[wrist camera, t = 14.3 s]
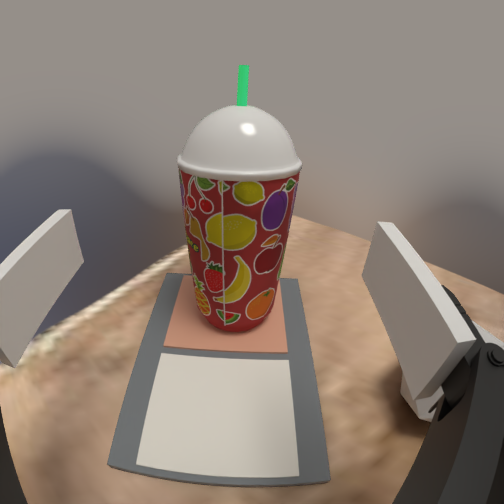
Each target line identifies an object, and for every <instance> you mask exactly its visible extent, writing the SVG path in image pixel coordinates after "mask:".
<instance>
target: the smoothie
mask: <svg viewBox="0 0 504 504" xmlns="http://www.w3.org/2000/svg"><path fill="white" fill-rule="evenodd" d="M248 74H249V66H248V65H239V73H238V92H237V105H231V106H227V107H224V108H221V109H219V110H217V111H214V112H213V113H211V114H209V115H207V116H206V117H205V118H203V119H202V120H201V121H200V122H199V123H198V124H197V125H196V126H195V127H194V129H193V130H192V132H191V133H190V135H189V137H188V139H187V141H186V144H185V146H184V149H183V152H182V153H181V154H180V155H179V156H178V157H177V165H178V168H179V179H180V188H181V196H182V206H183V214H184V222H185V230H186V237H187V245H188V252H189V259H190V265H191V272H192V278H193V284H194V291H195V297H196V302H197V307H198V309H199V310H200V312H201V313H202V314H203V316H205V318H206V319H207V320H208V322H209V323H210V324H212V325H213V326H215V327H216V328H218V329H221V330H224V331H229V332H241V331H247V330H250V329H252V328H254V327H256V326H258V325H259V324H260V323H261V322H262V321H263V320H264V318H265V317H266V316H267V315H268V314H269V313H270V312H271V310H272V308H273V305H274V301H275V296H276V292H277V287H278V282H279V278H280V273H281V268H282V263H283V258H284V253H285V248H286V243H287V238H288V233H289V228H290V223H291V218H292V213H293V208H294V202H295V197H296V191H297V186H298V181H299V173H300V170H301V169H302V162H301V160H300V158H298V157H297V155H296V151H295V148H294V145H293V142H292V140H291V137H290V136H289V134H288V132H287V131H286V129H285V128H284V126H283V125H282V124H281V123H280V121H278V120H277V119H276V118H275V117H273V116H272V115H271V114H269V113H267V112H266V111H263V110H261V109H259V108H256V107H253V106H248V105H247V92H248Z"/></svg>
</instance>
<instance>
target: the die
mask: <svg viewBox="0 0 504 504" xmlns="http://www.w3.org/2000/svg"><path fill="white" fill-rule="evenodd" d="M472 322H473V321H472ZM473 324H474V325H475V327H476V328H477V330H478V332H479V333H480V335H481V336H482V338H483V340H484V341H485V343H494V344H497V345H498V346H500V347H501V348H503V350H504V343H503V342H502V341H500V340H499V339H498V338H496V337H495V336H493V335H492V334H491V333H489V332H488V331H486V330H485V329H484V328H482V327H481V326H479V325H478V324H476V323H475V322H473ZM400 393H401V395H402V396H403V397H404V399H405V400H406V401H407V403H408V404H409V405H410V407H411V408H412V409H413V411H414V412H415V413H416V415H417V416H418V417H419V419H422V420H425V421H429V422H431V421H432V419H433V416H434V413H435V410H436V408H435V409H434V410H433V411H432V412H431V413H428V411H429V409H430V408H431V407H432V406H433V405H434V404H435V403H436V401H437V400H438V399H439V398H440V397H441V396H442V395H443V394H444V392H443V390H442V387H441V386H440V387H439V389H438V390H437V391H436V392H435V393H434V394H433V396H432V397H428V398H423V399H419V400H414V401H413V399H412V396H411V393H410V390H409V387H408V385H407V382H406V379H405V376H404V374H402V383H401V391H400Z"/></svg>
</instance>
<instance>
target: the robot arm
mask: <svg viewBox="0 0 504 504" xmlns="http://www.w3.org/2000/svg"><path fill="white" fill-rule="evenodd" d="M83 262H84V261H83V257H82V253H81V250H80V246H79V242H78V238H77V234H76V230H75V225H74V221H73V217H72V212H71V210H58V211H57V212H55V213H54V214H53V215H52V216H51V217H49V218H48V220H46V221H45V222H44V223H43V224H42V225H40V226H39V227H38V228H37V229H36V230H35V231H34V232H33V233H32V234H31V235H30V236H29V237H28V238H26V239H25V240H24V241H23V242H22V243H21V244H20V245H19V246H18V247H17V248H16V249H15V250H14V251H13V252H12V253H11V254H10V255H9V256H8V257H7V258H6V259H5V260H4V261H3V262H2V263H1V264H0V360H1V362H2V363H4V364H6V365H8V366H11V367H13V368H15V367H16V366H17V364H18V362H19V360H20V358H21V356H22V355H23V353H24V351H25V349H26V348H27V346H28V344H29V342H30V341H31V339H32V337H33V336H34V334H35V332H36V331H37V329H38V328H39V326H40V324H41V323H42V321H43V319H44V318H45V316H46V315H47V313H48V312H49V310H50V309H51V307H52V306H53V304H54V303H55V301H56V299H57V298H58V297H59V295H60V294H61V292H62V291H63V290H64V288H65V287H66V285H67V284H68V283H69V281H70V280H71V278H72V277H73V275H74V274H75V273H76V272H77V270H78V269H79V267H80V266H81V265H82V263H83ZM362 277H363V280H364V282H365V284H366V286H367V288H368V290H369V292H370V295H371V297H372V299H373V301H374V303H375V306H376V308H377V310H378V312H379V315H380V317H381V319H382V322H383V324H384V326H385V329H386V331H387V333H388V336H389V338H390V341H391V343H392V345H393V348H394V350H395V353H396V356H397V358H398V361H399V363H400V366H401V368H402V371H403V374H404V376H405V379H406V382H407V385H408V387H409V390H410V393H411V396H412V399H413V401H414V400H419V399H423V398H428V397H432V396H433V394H434V393H435V392H436V391H437V390H438V389H439V387H440V386H441V387H442V390H443V392H444V394H443V395H442V396H441V397H440V398H439V399H438V400H437V401H436V403H435V404H434V405H433V406H432V407H431V408H430V409H429V411H428V413H431V412H432V411H433V410H434V409H435V408H436V410H435V413H434V416H433V419H432V421H431V424H430V427H429V429H428V432H427V434H426V437H425V439H424V441H423V444H422V446H421V448H420V451H419V453H418V455H417V457H416V459H415V462H414V464H413V466H412V468H411V470H410V472H409V474H408V476H407V478H406V480H405V482H404V483H403V485H402V487H401V489H400V491H399V493H398V494H397V496H396V498H395V500H394V501H393V503H392V504H504V350H503V348H501V347H500V346H498V345H497V344H494V343H485V341H484V340H483V338H482V336H481V335H480V333H479V332H478V330H477V328H476V327H475V325H474V324H473V322H472V320H471V319H470V317H469V316H468V314H466V311H465V310H464V308H463V307H462V306H461V304H460V302H459V301H458V299H457V298H456V297H455V295H454V294H453V293H452V292H451V291H450V290H448V289H447V288H446V287H445V286H444V285H440V283H439V282H438V280H437V279H436V278H435V276H434V275H433V273H432V272H431V271H430V269H429V268H428V267H427V265H426V264H425V263H424V261H423V260H422V259H421V258H420V256H419V255H418V254H417V252H416V251H415V250H414V249H413V247H412V246H411V245H410V244H409V242H408V241H407V240H406V239H405V237H404V236H403V235H402V234H401V233H400V231H399V230H398V229H397V228H396V226H395V225H394V224H393V223H388V222H377V223H376V227H375V231H374V235H373V238H372V242H371V245H370V249H369V253H368V256H367V259H366V263H365V266H364V269H363V273H362ZM0 504H28V503H27V501H26V498H25V496H24V493H23V491H22V488H21V485H20V482H19V479H18V476H17V473H16V470H15V467H14V464H13V460H12V457H11V453H10V449H9V446H8V442H7V437H6V433H5V428H4V424H3V418H2V413H1V407H0Z"/></svg>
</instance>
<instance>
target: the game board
mask: <svg viewBox="0 0 504 504" xmlns="http://www.w3.org/2000/svg"><path fill="white" fill-rule="evenodd" d="M107 465H109V466H110V467H111V468H115V469H119V470H123V471H127V472H131V473H135V474H140V475H144V476H149V477H154V478H160V479H165V480H171V481H178V482H185V483H193V484H203V485H214V486H230V487H283V486H299V485H310V484H320V483H327V482H329V481H330V480H331V478H330V470H329V462H328V455H327V447H326V440H325V433H324V426H323V420H322V413H321V406H320V400H319V394H318V388H317V382H316V376H315V370H314V364H313V358H312V352H311V347H310V341H309V336H308V330H307V325H306V320H305V314H304V309H303V304H302V299H301V294H300V289H299V284H298V279H288V278H279V282H278V287H277V292H276V296H275V301H274V305H273V308H272V310H271V312H270V313H269V314H268V315H267V316H266V317H265V318H264V320H263V321H262V322H261V323H260V324H259V325H258V326H256V327H254V328H252V329H250V330H247V331H241V332H229V331H224V330H221V329H218V328H216V327H215V326H213V325H212V324H210V323H209V322H208V320H207V319H206V318H205V316H203V314H202V313H201V312H200V310H199V309H198V307H197V302H196V297H195V291H194V284H193V278H192V274H178V273H167V274H166V276H165V279H164V282H163V284H162V287H161V290H160V292H159V295H158V298H157V300H156V303H155V306H154V308H153V311H152V314H151V317H150V320H149V323H148V325H147V328H146V331H145V334H144V337H143V340H142V343H141V346H140V349H139V352H138V355H137V358H136V361H135V364H134V368H133V371H132V374H131V377H130V380H129V384H128V387H127V390H126V394H125V397H124V401H123V404H122V408H121V411H120V415H119V419H118V422H117V426H116V430H115V434H114V438H113V442H112V446H111V450H110V454H109V458H108V463H107Z"/></svg>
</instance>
